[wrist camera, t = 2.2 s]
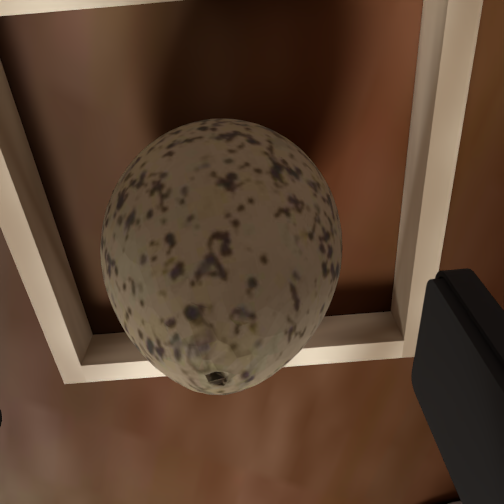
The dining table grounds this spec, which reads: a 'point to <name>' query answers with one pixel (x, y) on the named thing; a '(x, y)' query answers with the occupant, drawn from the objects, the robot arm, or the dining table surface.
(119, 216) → the decorative egg
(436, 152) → the frame
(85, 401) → the dining table surface
